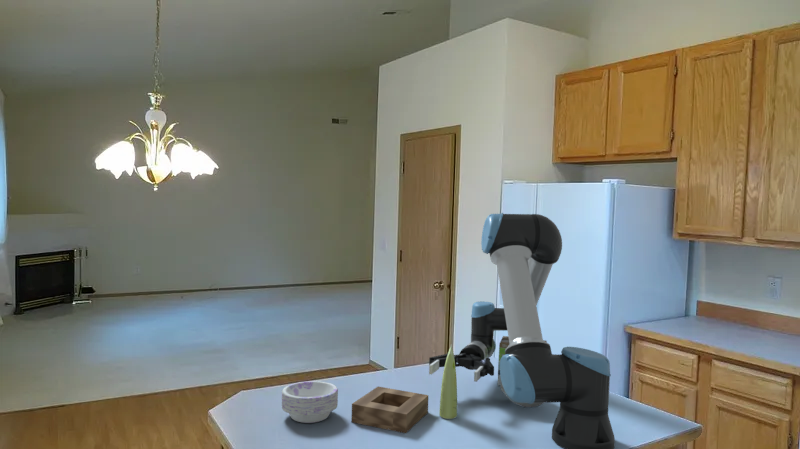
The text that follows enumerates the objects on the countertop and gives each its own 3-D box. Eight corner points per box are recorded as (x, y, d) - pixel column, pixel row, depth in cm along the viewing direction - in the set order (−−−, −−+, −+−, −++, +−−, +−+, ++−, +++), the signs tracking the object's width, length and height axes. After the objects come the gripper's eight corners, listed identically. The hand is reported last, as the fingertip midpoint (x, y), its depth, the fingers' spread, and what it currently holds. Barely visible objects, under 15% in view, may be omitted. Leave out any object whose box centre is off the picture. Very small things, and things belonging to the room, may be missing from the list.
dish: (561, 416, 157) (562, 399, 156) (514, 419, 154) (514, 401, 154) (534, 395, 174) (535, 379, 174) (491, 397, 171) (492, 381, 171)
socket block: (427, 412, 157) (428, 395, 157) (406, 433, 142) (406, 414, 142) (377, 403, 163) (377, 386, 163) (351, 422, 149) (351, 403, 149)
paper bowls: (306, 403, 162) (307, 376, 162) (348, 414, 154) (348, 386, 154) (269, 419, 149) (269, 390, 149) (313, 433, 141) (313, 402, 141)
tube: (462, 418, 154) (464, 348, 153) (447, 421, 151) (449, 350, 150) (449, 411, 158) (451, 344, 158) (435, 414, 155) (437, 346, 155)
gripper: (511, 372, 173) (494, 393, 153) (436, 361, 183) (412, 379, 164) (512, 349, 173) (495, 366, 153) (437, 339, 183) (412, 354, 163)
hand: (452, 373), depth 158 cm, fingers open, 13 cm apart
